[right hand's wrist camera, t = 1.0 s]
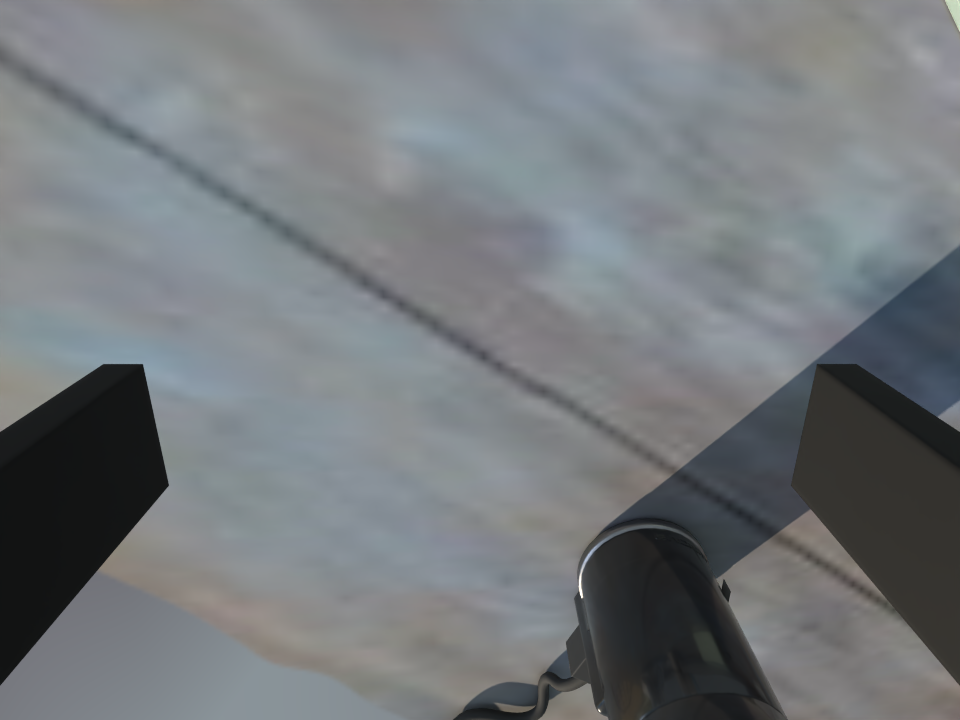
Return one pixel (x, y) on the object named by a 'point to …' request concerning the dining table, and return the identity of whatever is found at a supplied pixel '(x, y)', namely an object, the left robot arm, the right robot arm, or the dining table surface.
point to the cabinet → (954, 10)
